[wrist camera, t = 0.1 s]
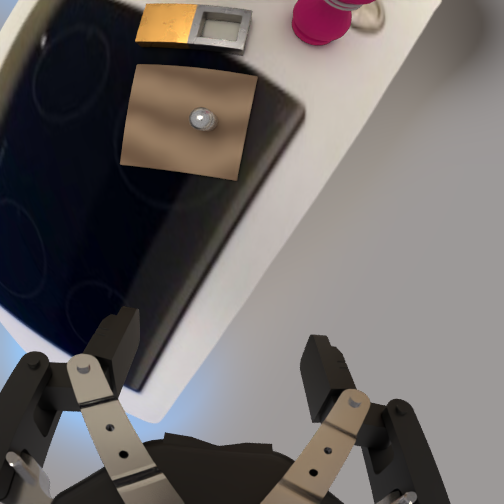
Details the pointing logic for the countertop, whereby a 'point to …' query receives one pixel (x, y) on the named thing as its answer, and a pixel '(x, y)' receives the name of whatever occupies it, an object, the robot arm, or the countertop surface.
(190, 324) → the countertop surface
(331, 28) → the pepper mill
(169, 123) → the board
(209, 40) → the link
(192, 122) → the post
